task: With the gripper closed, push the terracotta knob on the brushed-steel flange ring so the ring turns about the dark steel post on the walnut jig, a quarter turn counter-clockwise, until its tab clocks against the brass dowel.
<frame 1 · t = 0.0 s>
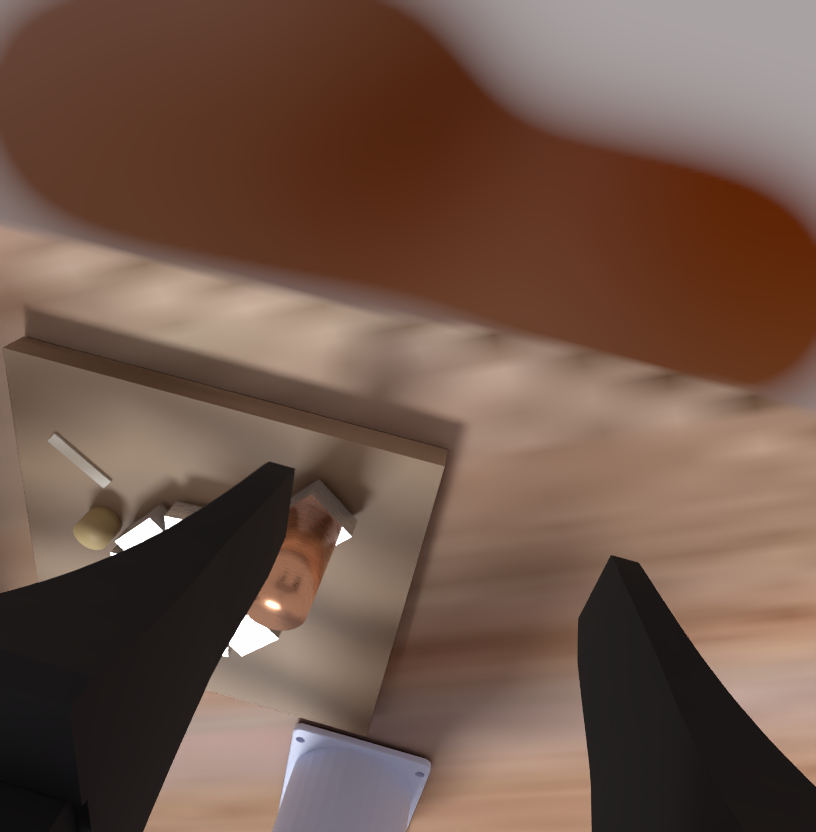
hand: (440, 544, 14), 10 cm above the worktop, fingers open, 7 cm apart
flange: (213, 600, 25), point 4 cm above the worktop, hinge at 0.0°
jig base: (222, 553, 29), on the worktop
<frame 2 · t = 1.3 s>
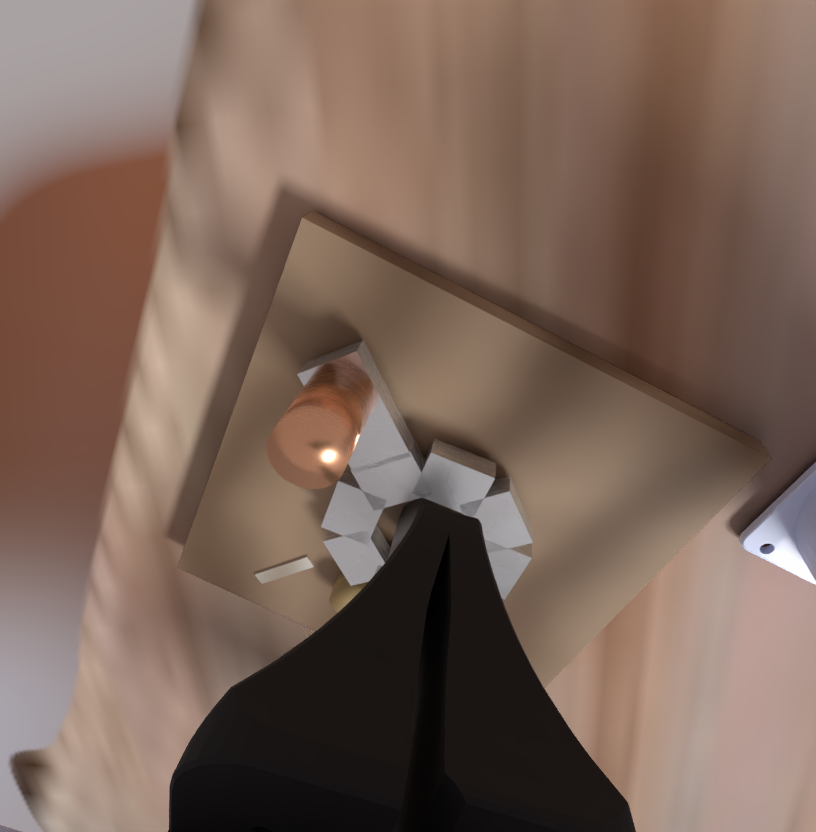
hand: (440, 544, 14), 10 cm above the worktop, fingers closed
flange: (394, 526, 22), point 4 cm above the worktop, hinge at 0.0°
jig base: (432, 503, 26), on the worktop
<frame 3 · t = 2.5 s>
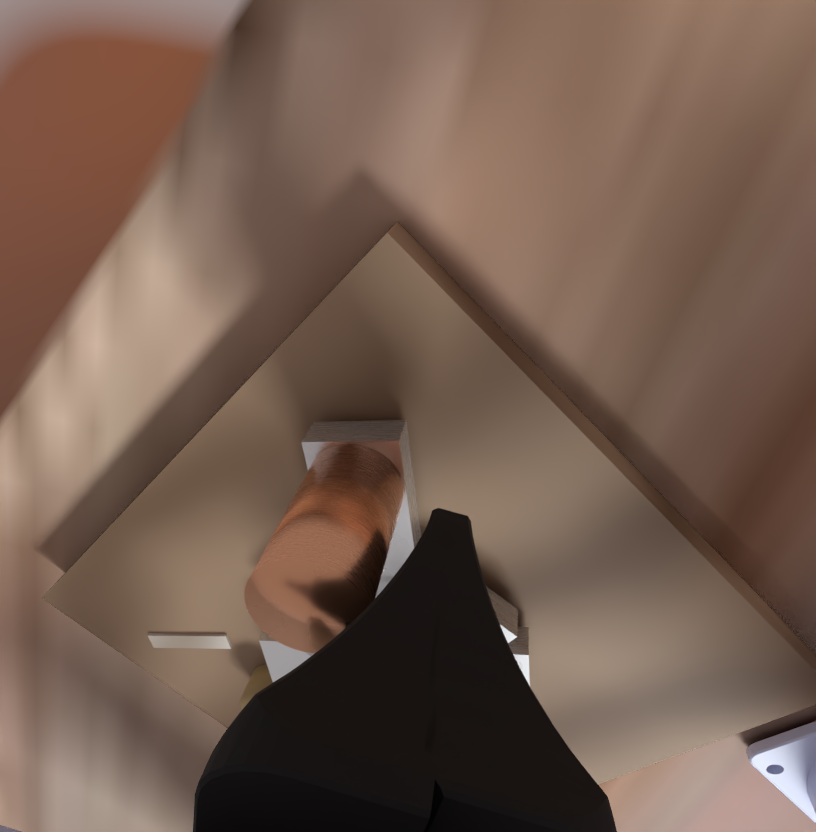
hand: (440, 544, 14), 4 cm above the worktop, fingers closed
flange: (372, 672, 16), point 4 cm above the worktop, hinge at 0.7°, touching gripper
jig base: (407, 613, 20), on the worktop
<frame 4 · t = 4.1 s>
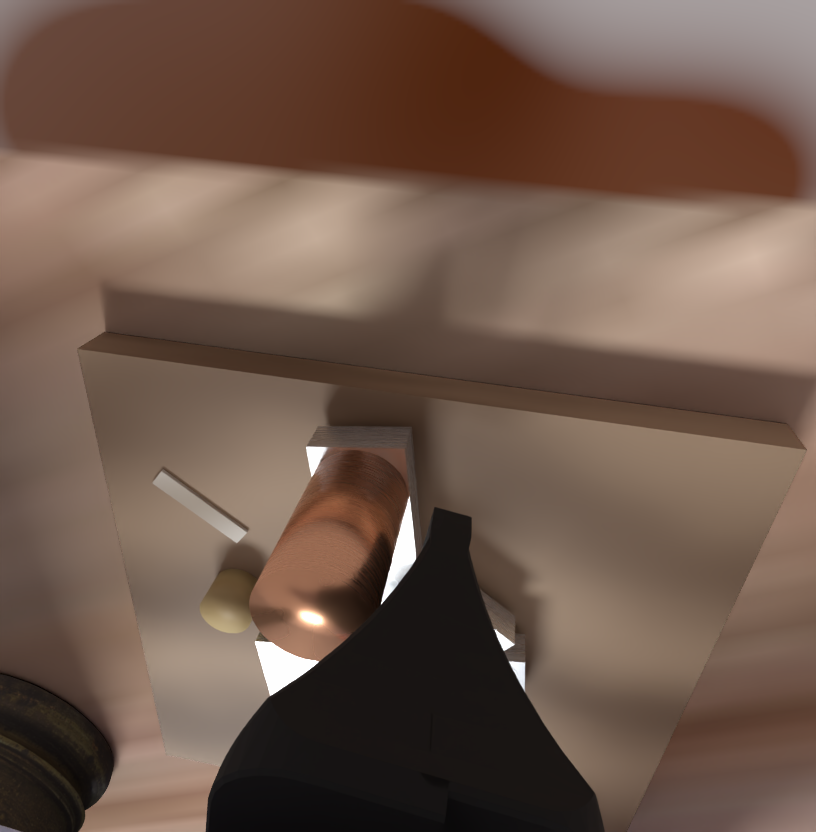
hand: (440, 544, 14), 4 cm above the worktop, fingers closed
container: (28, 729, 28), on the worktop
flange: (369, 677, 16), point 4 cm above the worktop, hinge at 48.9°, touching gripper
jig base: (402, 616, 20), on the worktop
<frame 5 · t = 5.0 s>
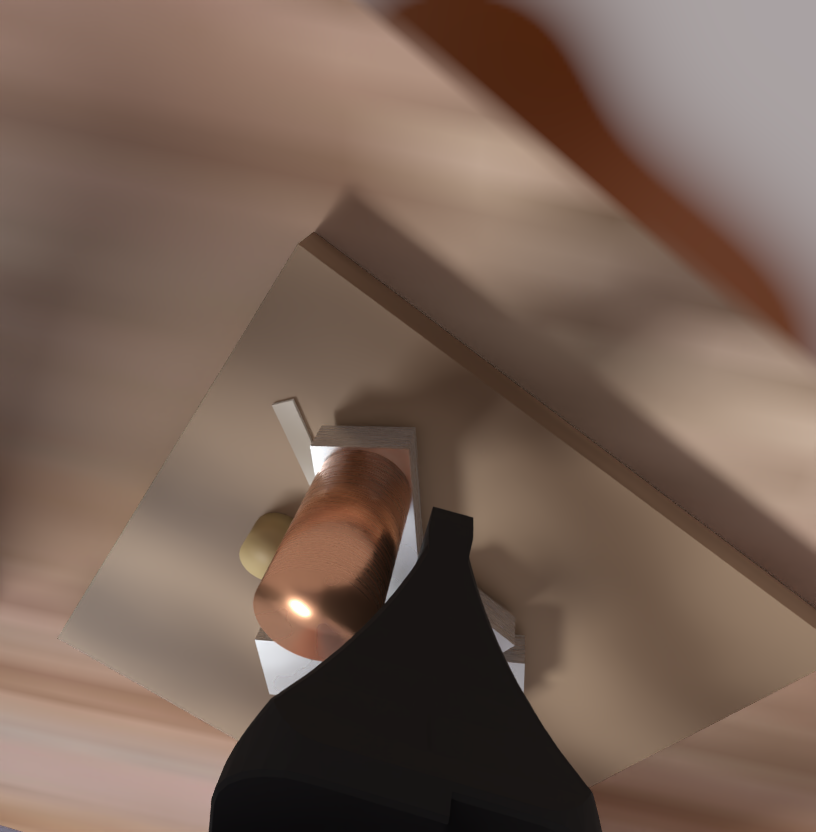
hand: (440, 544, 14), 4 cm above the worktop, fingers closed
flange: (369, 677, 16), point 4 cm above the worktop, hinge at 79.6°, touching gripper
jig base: (402, 616, 20), on the worktop
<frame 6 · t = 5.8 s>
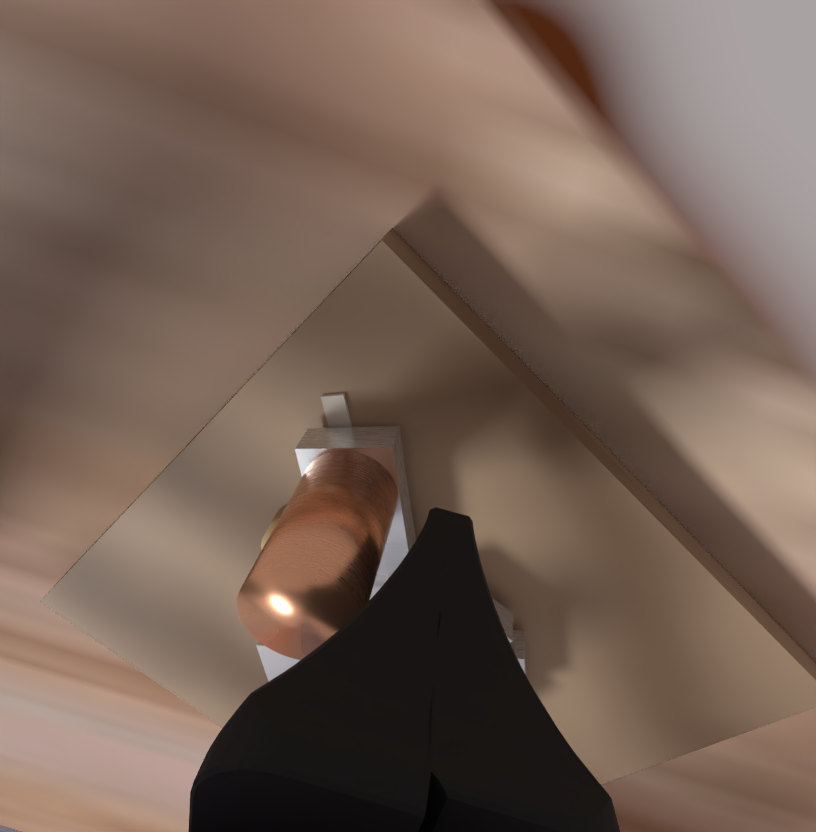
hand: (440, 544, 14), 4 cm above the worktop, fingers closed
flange: (367, 677, 16), point 4 cm above the worktop, hinge at 91.1°, touching gripper
jig base: (404, 616, 20), on the worktop
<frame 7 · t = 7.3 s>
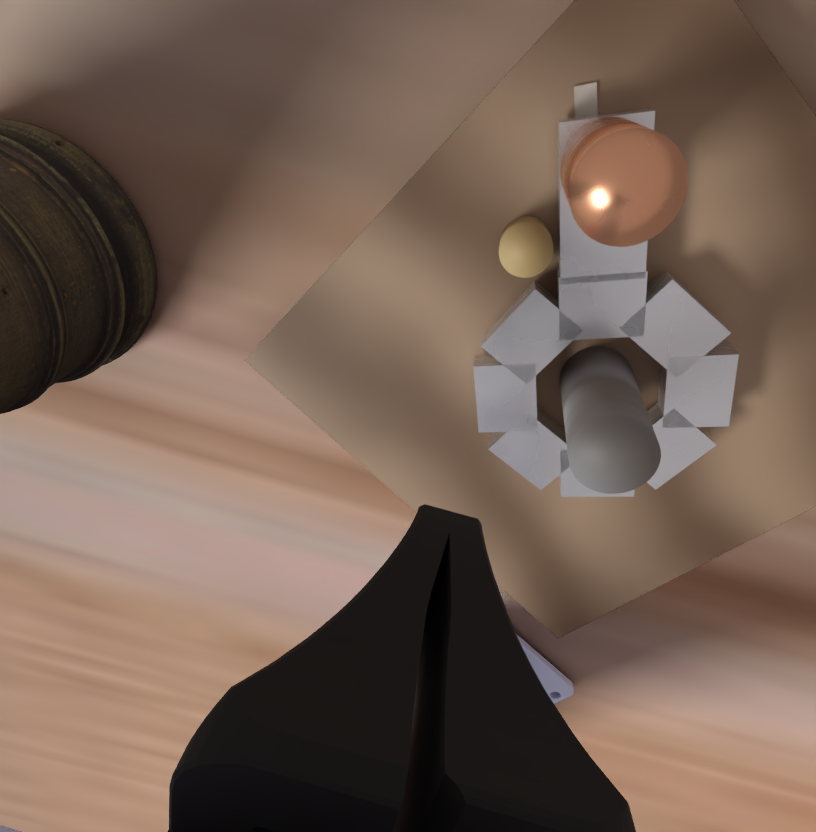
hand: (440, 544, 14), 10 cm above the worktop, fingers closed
container: (55, 251, 24), on the worktop
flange: (606, 355, 17), point 4 cm above the worktop, hinge at 91.2°
jig base: (592, 364, 22), on the worktop
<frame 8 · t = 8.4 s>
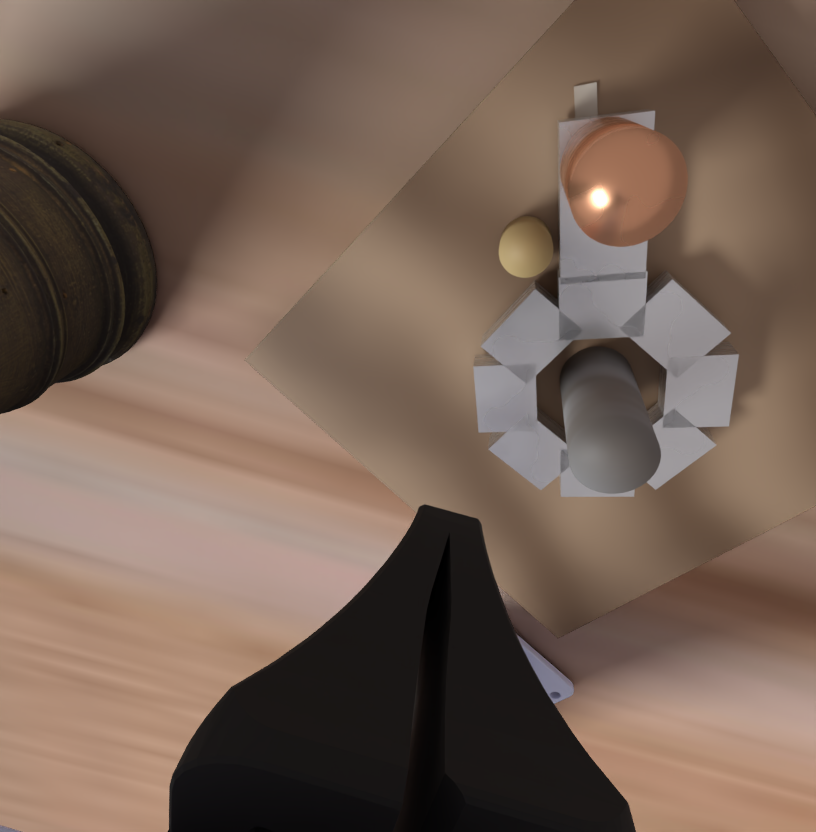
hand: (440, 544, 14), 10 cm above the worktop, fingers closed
container: (55, 251, 24), on the worktop
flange: (606, 355, 17), point 4 cm above the worktop, hinge at 91.2°
jig base: (592, 364, 22), on the worktop
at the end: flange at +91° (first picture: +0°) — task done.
